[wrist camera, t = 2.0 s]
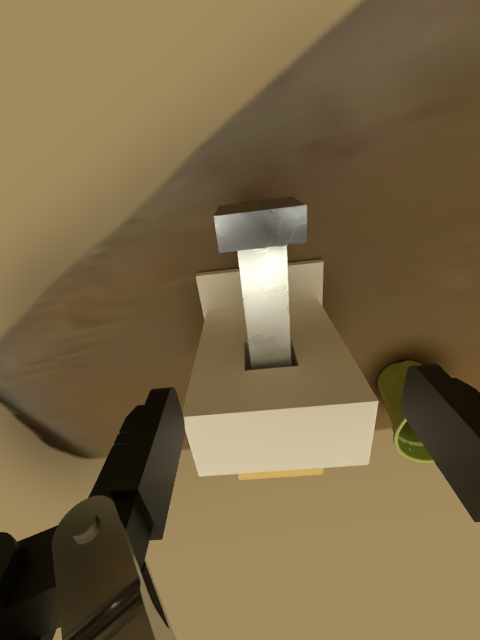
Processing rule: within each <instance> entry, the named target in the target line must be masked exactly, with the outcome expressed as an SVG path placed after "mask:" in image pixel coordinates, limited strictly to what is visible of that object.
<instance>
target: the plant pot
mask: <svg viewBox="0 0 480 640" xmlns="http://www.w3.org/2000/svg"><path fill="white" fill-rule="evenodd" d="M416 365H421V364H420V363H418V362H416V361H411V360H406V361H404V362H400V363H393V364H391V365H389V366H388V367H386V368H385V369H384V370H383V371H382V372H381V374H380V375H379V377H378V380H377V383H378V390H379V392H380V395H381V397H382V399H383V402H384V404H385V407H386V409H387V412H388V414H389V417H390V419H391V422H392V425H393V432H394V444H395V447H396V449H397V451H398V452H399V453H400V454H401V455H402V456H404V457H405V458H407V459H409V460H412V461H415V462H423V463H434V460H433V459H432V457H431V456H430V454H429V453H428V451H427V450H426V448H425V447H424V445H423V444H422V442H421V441H420V439H419V438H418V436H417V435H416V433H415V432H414V430H413V429H412V427H411V426H410V424H409V423H408V421H407V420H406V418H405V416H404V414H403V411H402V407H401V398H402V393H403V388H404V383H405V378H406V373H407V369H408V368H409V367H410V366H416Z"/></svg>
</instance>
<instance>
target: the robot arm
mask: <svg viewBox="0 0 480 640" xmlns="http://www.w3.org/2000/svg"><path fill="white" fill-rule="evenodd" d="M401 407H402V411H403V414H404V416H405V418H406V420H407V421H408V423H409V424H410V426H411V427H412V429H413V430H414V432H415V433H416V435H417V436H418V438H419V439H420V441H421V442H422V444H423V445H424V447H425V448H426V450H427V451H428V453H429V454H430V456H431V457H432V459H433V460H434V462H435V463H436V465H437V466H438V468H439V469H440V471H441V472H442V474H443V475H444V477H445V478H446V480H447V481H448V482H449V484H450V485H451V487H452V489H453V490H454V492H455V493H456V495H457V496H458V498H459V499H460V500H461V502H462V504H463V505H464V507H465V508H466V510H467V511H468V513H469V514H470V516H471V517H472V519H473V520H474V522H480V393H479V392H478V391H477V390H476V389H475V388H473V387H472V386H470V385H468V384H466V383H464V382H463V381H461V380H459V379H457V378H451V377H450V376H449V375H448V374H447V373H446V372H445V371H444V370H443V369H442V368H441V367H440V366H438V365H437V364H427V365H416V366H410V367H409V368H408V369H407V373H406V378H405V383H404V388H403V393H402V398H401ZM119 432H120V433H119V434H118V436H117V438H116V440H115V442H114V446H112V449H111V451H110V453H109V455H108V457H107V459H106V461H105V464H104V466H103V468H102V470H101V472H100V474H99V476H98V479H97V481H96V483H95V485H94V487H93V489H92V492H91V493H90V495H89V497H88V499H85V500H83V501H81V502H80V503H78V504H77V505H75V506H74V507H73V508H72V509H71V510H70V511H69V512H68V513H67V514H66V515H65V516H64V518H63V519H62V520H61V522H60V523H59V525H57V526H55V527H53V528H50V529H48V530H45V531H43V532H40V533H38V534H35V535H33V536H31V537H28V538H26V539H23V540H21V541H18V542H17V541H16V540H15V539H14V538H13V537H12V536H11V535H10V534H8V533H5V532H0V640H52V639H53V637H54V634H55V631H56V629H57V628H59V627H61V633H62V640H176V637H175V635H174V633H173V630H172V628H171V625H170V623H169V620H168V617H167V614H166V612H165V609H164V606H163V604H162V601H161V598H160V596H159V593H158V590H157V588H156V585H155V582H154V580H153V577H152V574H151V572H150V569H149V566H148V564H147V561H146V559H145V556H146V551H147V547H148V544H149V540H161V539H162V538H163V533H164V528H165V524H166V519H167V514H168V510H169V505H170V500H171V495H172V491H173V486H174V481H175V477H176V472H177V467H178V463H179V458H180V453H181V449H182V444H183V439H184V434H185V422H184V417H183V413H182V410H181V406H180V403H179V400H178V396H177V393H176V390H175V388H174V387H169V388H158V389H152V390H151V391H150V393H149V395H148V398H147V400H146V402H145V405H138V406H136V407H135V408H134V409H133V411H132V412H131V413H130V414H129V415H128V416H127V417H126V418H125V421H124V423H123V425H122V427H121V429H120V431H119Z"/></svg>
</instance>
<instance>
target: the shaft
mask: <svg viewBox="0 0 480 640" xmlns="http://www.w3.org/2000/svg"><path fill="white" fill-rule="evenodd" d="M214 221H215V228H216V235H217V241H218V248H219V253H223V252H232V251H237V253H238V261H239V269H240V277H241V286H242V294H243V302H244V311H245V319H246V327H247V336H248V344H249V352H250V360H251V369H252V370H258V369H269V368H280V367H291V346H290V318H289V291H288V264H287V245H293V244H302V243H307V205H306V204H304V203H302V202H300V201H299V200H297V199H295V198H293V197H287V198H279V199H271V200H263V201H255V202H247V203H239V204H231V205H223V206H219V208H218V210H217V212H216V213H215V215H214Z"/></svg>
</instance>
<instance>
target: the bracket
mask: <svg viewBox="0 0 480 640" xmlns="http://www.w3.org/2000/svg"><path fill="white" fill-rule="evenodd" d="M287 264H288V291H289V318H290V346H291V367H280V368H269V369H258V370H252V369H251V360H250V352H249V344H248V336H247V327H246V319H245V311H244V302H243V294H242V286H241V277H240V269H239V268H238V269H229V270H220V271H211V272H202V273H197V274H196V281H197V286H198V291H199V296H200V301H201V306H202V311H203V316H204V325H203V329H202V334H201V338H200V342H199V346H198V350H197V354H196V359H195V363H194V367H193V371H192V375H191V379H190V384H189V388H188V392H187V396H186V400H185V404H184V409H183V417H184V422H185V431H186V434H187V438H188V441H189V444H190V448H191V451H192V454H193V457H194V461H195V464H196V468H197V471H198V474H199V476H213V475H227V474H241V473H256V472H270V471H285V470H299V469H313V468H326V467H341V466H356V465H368V464H369V459H370V452H371V446H372V440H373V434H374V427H375V421H376V415H377V408H378V402H379V401H378V399H377V397H376V396H375V394H374V392H373V391H372V389H371V387H370V386H369V384H368V382H367V381H366V379H365V377H364V376H363V374H362V372H361V371H360V369H359V367H358V366H357V364H356V362H355V360H354V359H353V357H352V355H351V354H350V352H349V350H348V349H347V347H346V345H345V344H344V342H343V340H342V339H341V337H340V335H339V334H338V332H337V330H336V329H335V327H334V325H333V324H332V322H331V320H330V319H329V317H328V315H327V314H326V312H325V310H324V308H323V307H322V300H323V261H322V260H321V259H319V260H310V261H301V262H292V263H287Z"/></svg>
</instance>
